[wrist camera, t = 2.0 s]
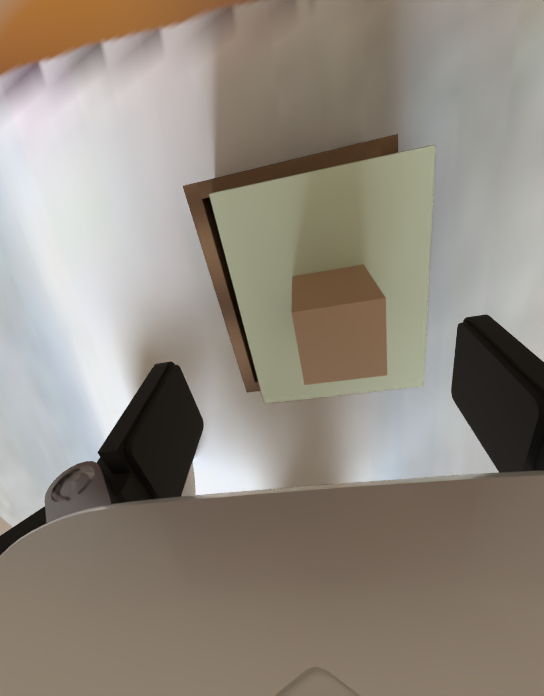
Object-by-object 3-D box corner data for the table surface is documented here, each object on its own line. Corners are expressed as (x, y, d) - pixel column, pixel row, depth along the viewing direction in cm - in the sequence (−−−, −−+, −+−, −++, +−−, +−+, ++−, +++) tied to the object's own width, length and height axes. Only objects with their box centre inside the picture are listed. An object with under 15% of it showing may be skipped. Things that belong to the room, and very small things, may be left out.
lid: (419, 379, 22) (455, 442, 17) (265, 396, 24) (257, 459, 19) (429, 145, 15) (493, 139, 10) (212, 192, 17) (178, 206, 12)
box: (375, 321, 29) (400, 372, 22) (257, 340, 31) (246, 392, 24) (365, 142, 22) (397, 133, 15) (215, 178, 24) (182, 186, 17)
